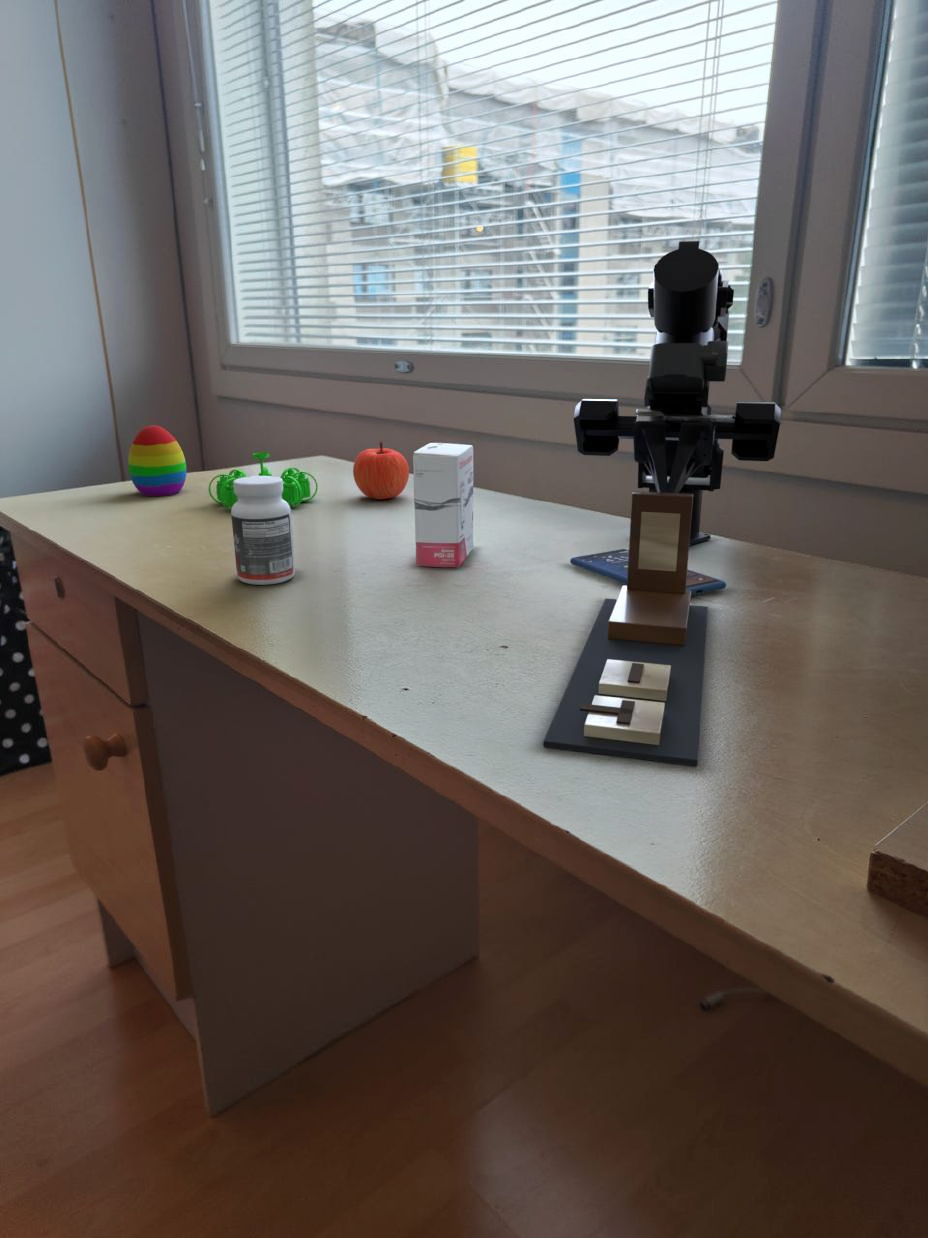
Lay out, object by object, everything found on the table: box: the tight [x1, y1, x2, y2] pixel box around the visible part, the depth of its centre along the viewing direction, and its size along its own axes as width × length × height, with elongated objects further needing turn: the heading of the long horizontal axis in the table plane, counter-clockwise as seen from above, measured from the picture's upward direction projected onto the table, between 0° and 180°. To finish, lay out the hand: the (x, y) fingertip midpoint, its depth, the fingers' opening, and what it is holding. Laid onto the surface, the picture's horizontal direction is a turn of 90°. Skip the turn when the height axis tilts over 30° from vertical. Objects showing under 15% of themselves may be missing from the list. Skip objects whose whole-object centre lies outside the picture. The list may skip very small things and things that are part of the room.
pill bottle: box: [230, 475, 296, 586], centre depth 85 cm, size 6×6×10 cm
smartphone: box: [570, 548, 727, 597], centre depth 85 cm, size 8×1×15 cm
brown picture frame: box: [608, 490, 693, 646], centre depth 70 cm, size 10×6×10 cm, turn 164°
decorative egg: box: [127, 424, 187, 497], centre depth 128 cm, size 8×8×10 cm
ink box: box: [412, 442, 474, 568], centre depth 91 cm, size 9×5×12 cm, turn 168°
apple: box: [352, 441, 410, 500], centre depth 124 cm, size 8×8×8 cm
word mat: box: [542, 598, 709, 767], centre depth 64 cm, size 29×9×1 cm, turn 164°
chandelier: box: [208, 452, 318, 510], centre depth 121 cm, size 15×15×7 cm
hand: (665, 503), depth 79 cm, fingers closed
